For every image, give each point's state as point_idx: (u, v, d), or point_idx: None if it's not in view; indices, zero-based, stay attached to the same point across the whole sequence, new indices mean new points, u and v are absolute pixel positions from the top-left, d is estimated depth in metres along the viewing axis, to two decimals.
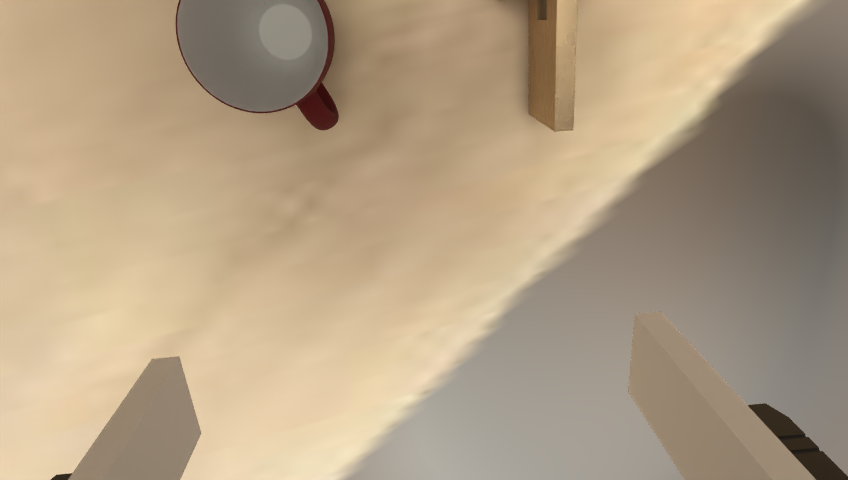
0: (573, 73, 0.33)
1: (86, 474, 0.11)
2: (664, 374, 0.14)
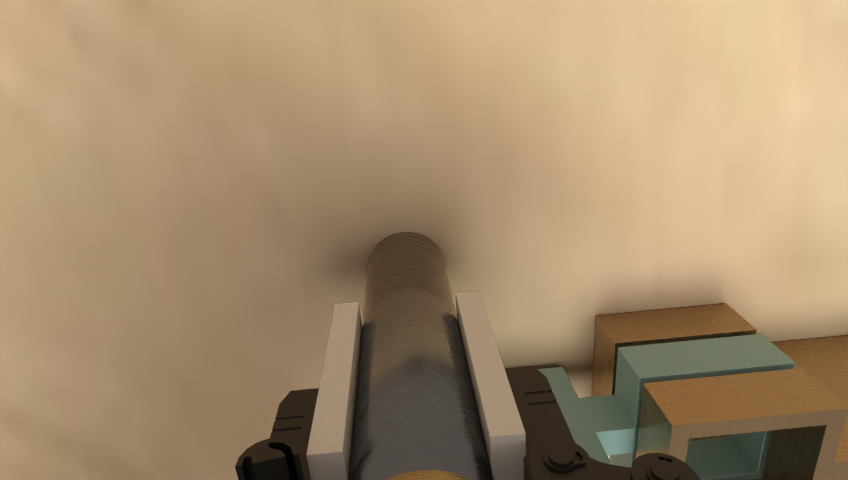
0: None
1: (332, 384, 0.14)
2: (464, 344, 0.16)
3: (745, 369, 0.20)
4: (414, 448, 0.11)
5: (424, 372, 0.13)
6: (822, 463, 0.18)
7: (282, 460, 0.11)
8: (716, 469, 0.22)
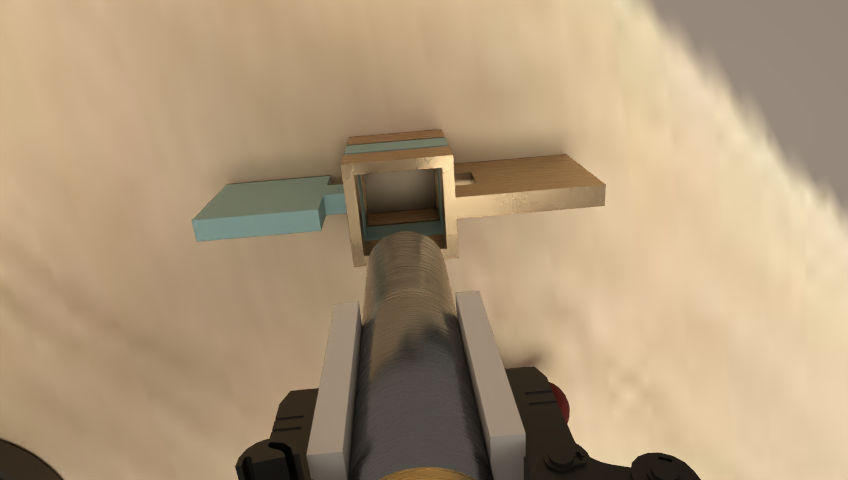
0: (541, 191, 0.29)
1: (332, 384, 0.14)
2: (464, 343, 0.16)
3: None
4: (413, 446, 0.11)
5: (424, 370, 0.13)
6: (447, 197, 0.29)
7: (282, 460, 0.11)
8: (418, 232, 0.33)
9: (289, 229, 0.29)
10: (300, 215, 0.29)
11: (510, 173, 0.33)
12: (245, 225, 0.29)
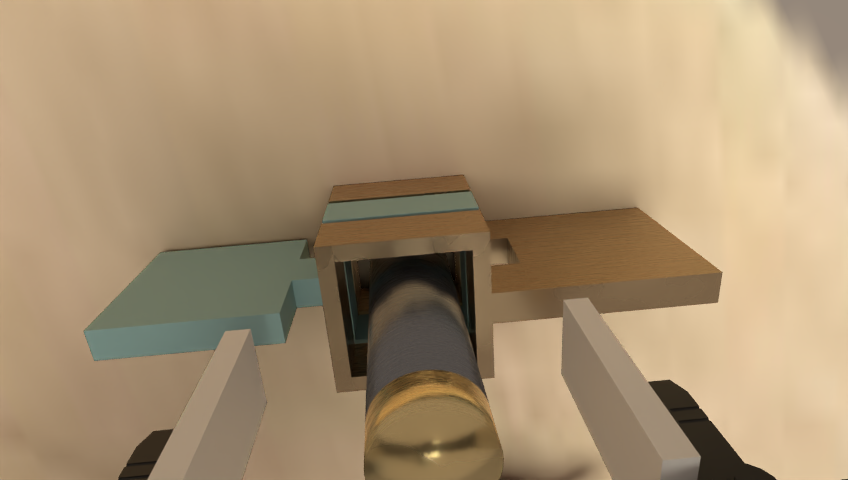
0: (624, 283, 0.19)
1: (188, 427, 0.12)
2: (583, 354, 0.15)
3: (428, 213, 0.20)
4: (420, 356, 0.14)
5: (426, 307, 0.16)
6: (480, 293, 0.19)
7: None
8: None
9: None
10: (252, 321, 0.19)
11: (567, 243, 0.22)
12: (168, 336, 0.19)
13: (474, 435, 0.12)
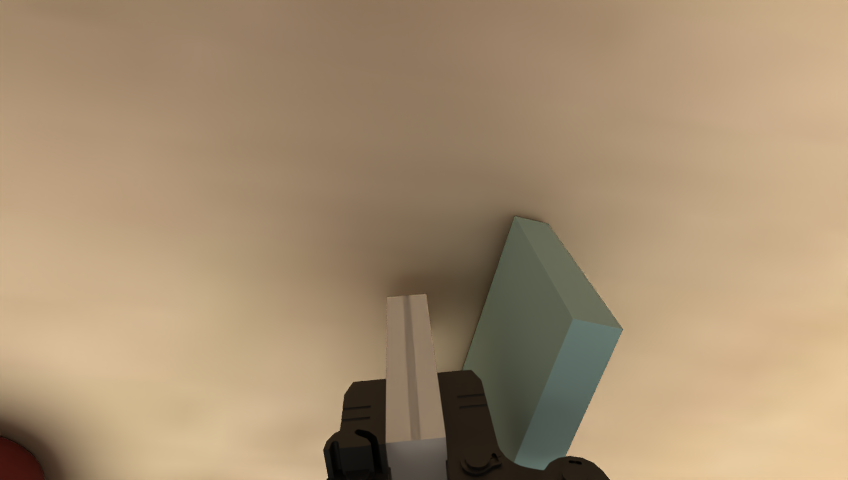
0: None
1: (399, 375, 0.14)
2: None
3: None
4: None
5: None
6: None
7: (368, 448, 0.11)
8: None
9: None
10: None
11: None
12: (559, 420, 0.13)
13: None
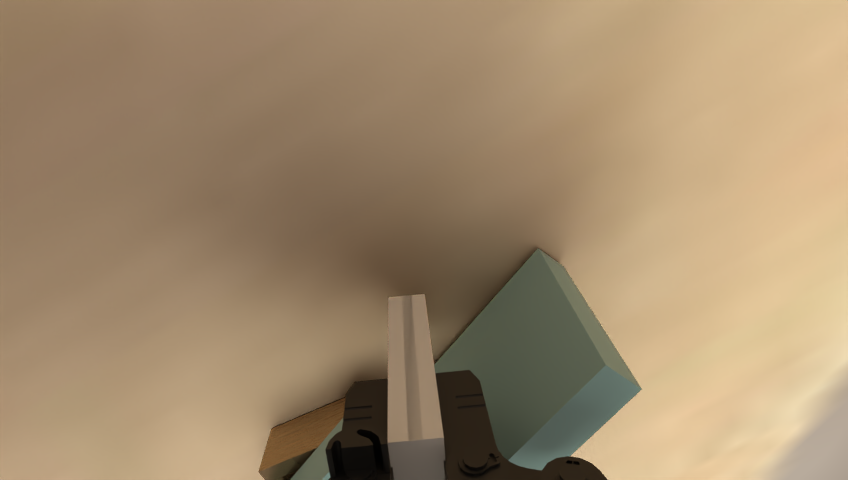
0: None
1: (400, 374, 0.14)
2: None
3: None
4: None
5: None
6: None
7: (370, 448, 0.11)
8: None
9: None
10: None
11: None
12: (549, 452, 0.14)
13: None
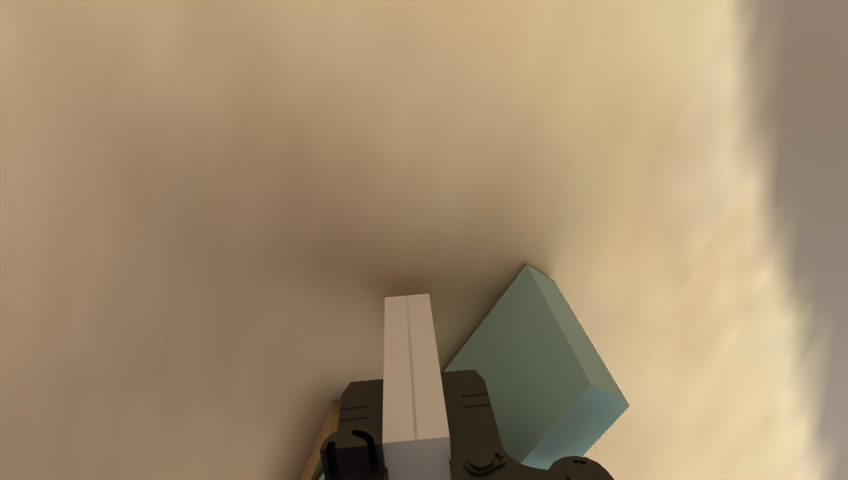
0: None
1: (396, 375, 0.14)
2: None
3: None
4: None
5: None
6: None
7: (364, 449, 0.11)
8: None
9: None
10: None
11: None
12: None
13: None
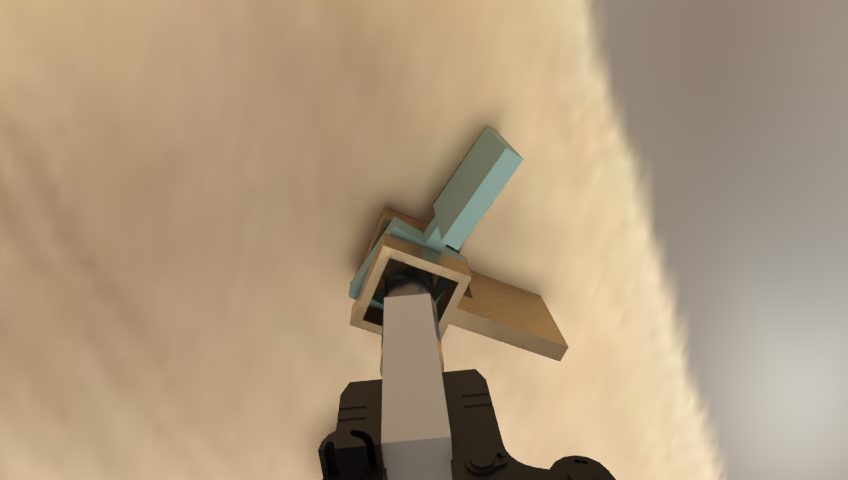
0: (521, 331, 0.35)
1: (395, 375, 0.14)
2: None
3: None
4: None
5: None
6: (450, 305, 0.34)
7: (363, 449, 0.11)
8: None
9: (459, 220, 0.32)
10: (463, 236, 0.32)
11: (498, 299, 0.38)
12: (488, 193, 0.32)
13: None
